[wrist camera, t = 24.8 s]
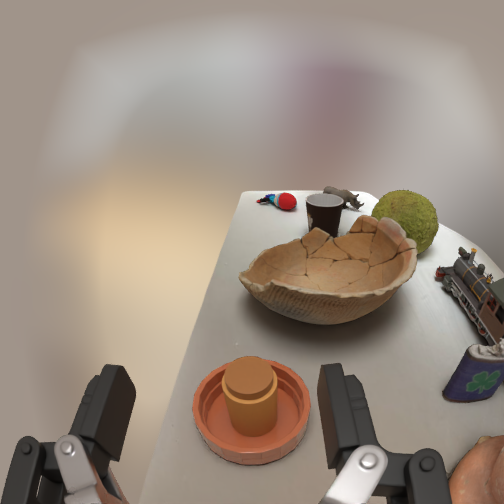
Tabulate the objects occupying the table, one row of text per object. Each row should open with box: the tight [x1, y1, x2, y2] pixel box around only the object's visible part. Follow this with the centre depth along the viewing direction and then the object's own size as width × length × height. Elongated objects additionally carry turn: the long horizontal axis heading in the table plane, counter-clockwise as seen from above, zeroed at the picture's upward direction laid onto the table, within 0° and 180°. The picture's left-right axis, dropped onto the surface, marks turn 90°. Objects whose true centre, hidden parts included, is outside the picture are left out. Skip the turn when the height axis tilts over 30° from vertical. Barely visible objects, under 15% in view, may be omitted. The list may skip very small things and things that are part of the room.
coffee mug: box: [306, 194, 343, 238], centre depth 70 cm, size 12×9×10 cm
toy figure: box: [257, 193, 297, 210], centre depth 91 cm, size 8×5×15 cm
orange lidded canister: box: [222, 356, 277, 437], centre depth 30 cm, size 6×6×9 cm
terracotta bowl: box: [192, 360, 311, 465], centre depth 32 cm, size 13×13×4 cm
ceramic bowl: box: [239, 215, 418, 325], centre depth 49 cm, size 30×27×15 cm
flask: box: [442, 338, 504, 403], centre depth 27 cm, size 9×3×11 cm, turn 74°
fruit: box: [371, 190, 439, 254], centre depth 63 cm, size 16×14×15 cm
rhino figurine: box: [323, 187, 364, 209], centre depth 86 cm, size 4×14×6 cm, turn 50°
